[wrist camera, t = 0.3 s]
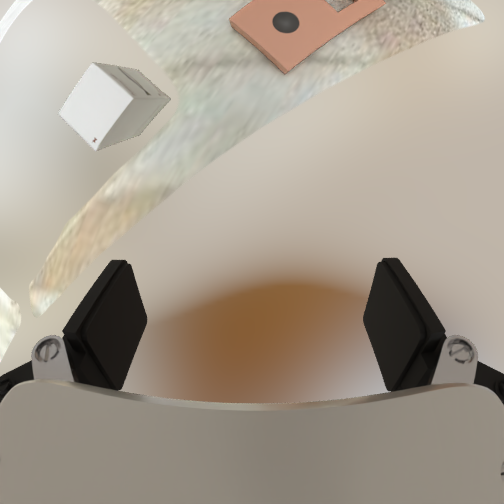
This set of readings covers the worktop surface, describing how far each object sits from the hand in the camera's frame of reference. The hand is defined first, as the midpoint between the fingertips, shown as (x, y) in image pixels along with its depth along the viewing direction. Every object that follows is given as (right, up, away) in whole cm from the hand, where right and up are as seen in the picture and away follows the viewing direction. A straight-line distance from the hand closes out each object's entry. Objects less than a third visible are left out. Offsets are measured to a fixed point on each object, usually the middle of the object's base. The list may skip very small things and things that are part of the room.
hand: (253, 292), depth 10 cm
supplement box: (-16, +23, +23) cm, 36 cm away
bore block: (+7, +33, +16) cm, 37 cm away
